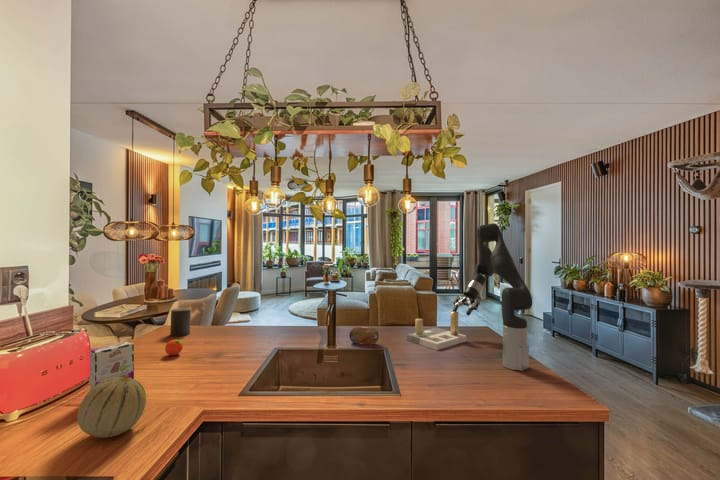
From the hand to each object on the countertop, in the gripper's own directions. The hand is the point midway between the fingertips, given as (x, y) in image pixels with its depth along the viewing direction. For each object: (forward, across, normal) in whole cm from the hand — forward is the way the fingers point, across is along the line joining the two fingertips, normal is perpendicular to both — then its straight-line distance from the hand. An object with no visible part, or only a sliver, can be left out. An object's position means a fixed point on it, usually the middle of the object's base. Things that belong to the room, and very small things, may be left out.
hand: (460, 313), depth 178 cm
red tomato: (+100, -60, -80) cm, 142 cm away
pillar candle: (+95, -97, -75) cm, 155 cm away
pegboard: (+19, -5, 0) cm, 20 cm away
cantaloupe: (+117, -2, -96) cm, 151 cm away
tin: (+44, -24, -24) cm, 55 cm away
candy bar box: (+117, -29, -97) cm, 154 cm away
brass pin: (+11, 0, +4) cm, 12 cm away
